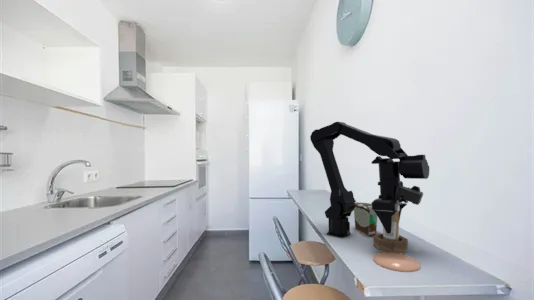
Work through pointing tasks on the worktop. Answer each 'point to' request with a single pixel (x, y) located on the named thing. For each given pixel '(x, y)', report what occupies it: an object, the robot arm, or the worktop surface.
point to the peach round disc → (396, 262)
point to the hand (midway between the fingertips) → (392, 229)
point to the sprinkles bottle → (393, 228)
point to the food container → (365, 219)
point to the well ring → (390, 244)
